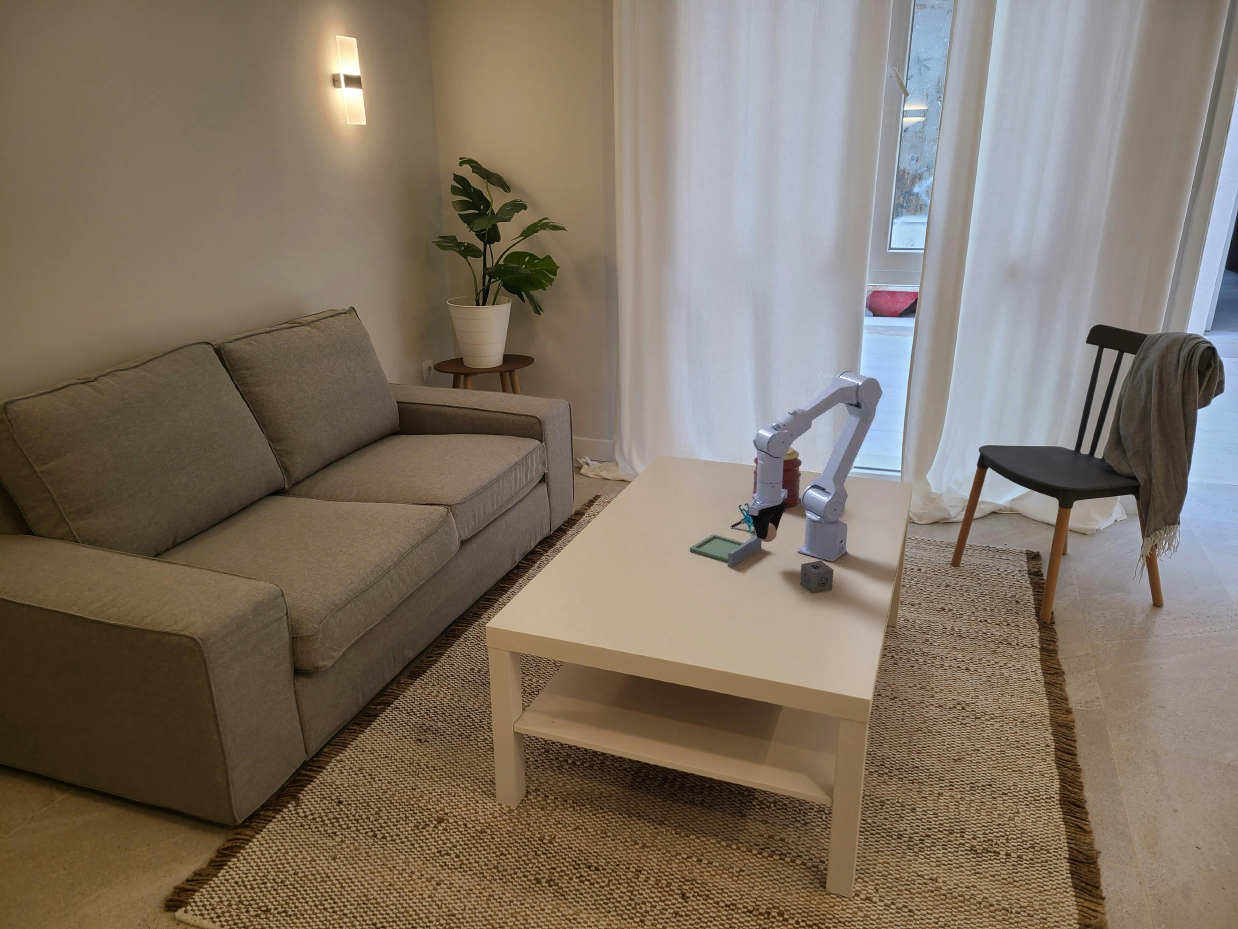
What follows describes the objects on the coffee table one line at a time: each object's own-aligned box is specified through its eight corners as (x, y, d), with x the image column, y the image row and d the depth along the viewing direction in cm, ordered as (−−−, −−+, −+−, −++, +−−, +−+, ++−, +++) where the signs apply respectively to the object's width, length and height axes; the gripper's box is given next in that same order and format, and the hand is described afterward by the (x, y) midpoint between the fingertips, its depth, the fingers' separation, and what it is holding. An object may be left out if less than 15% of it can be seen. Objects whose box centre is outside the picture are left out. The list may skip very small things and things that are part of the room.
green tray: (749, 548, 211) (750, 544, 211) (727, 562, 203) (727, 558, 203) (713, 537, 217) (713, 534, 217) (689, 551, 209) (689, 547, 209)
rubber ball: (779, 540, 201) (780, 522, 200) (770, 546, 198) (771, 528, 197) (762, 535, 204) (763, 518, 203) (753, 541, 201) (753, 524, 199)
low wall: (761, 548, 211) (761, 535, 210) (731, 567, 201) (731, 553, 199) (757, 547, 212) (758, 534, 210) (727, 566, 201) (728, 552, 200)
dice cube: (800, 584, 192) (801, 564, 191) (819, 580, 194) (820, 560, 192) (812, 594, 188) (813, 573, 186) (831, 590, 190) (833, 569, 188)
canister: (748, 506, 238) (751, 445, 232) (755, 491, 249) (758, 432, 244) (796, 511, 234) (800, 449, 228) (801, 495, 246) (805, 436, 240)
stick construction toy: (755, 530, 216) (742, 502, 218) (732, 542, 219) (719, 514, 221) (770, 527, 227) (757, 500, 228) (748, 538, 230) (735, 512, 231)
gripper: (769, 468, 204) (767, 521, 208) (738, 484, 193) (735, 540, 198) (796, 474, 200) (793, 528, 204) (765, 491, 189) (762, 548, 193)
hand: (766, 534), depth 201 cm, fingers closed on rubber ball, 4 cm apart
